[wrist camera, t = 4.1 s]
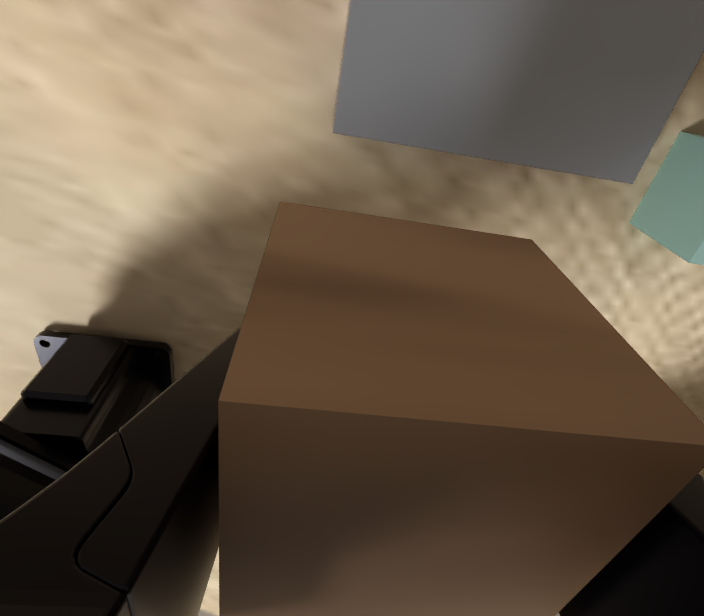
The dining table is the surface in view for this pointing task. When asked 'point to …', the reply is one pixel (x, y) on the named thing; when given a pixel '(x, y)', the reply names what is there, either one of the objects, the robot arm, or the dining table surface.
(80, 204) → the dining table surface
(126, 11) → the dining table surface
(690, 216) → the teal block
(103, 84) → the dining table surface
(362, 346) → the walnut block
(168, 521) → the robot arm
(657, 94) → the slate board
